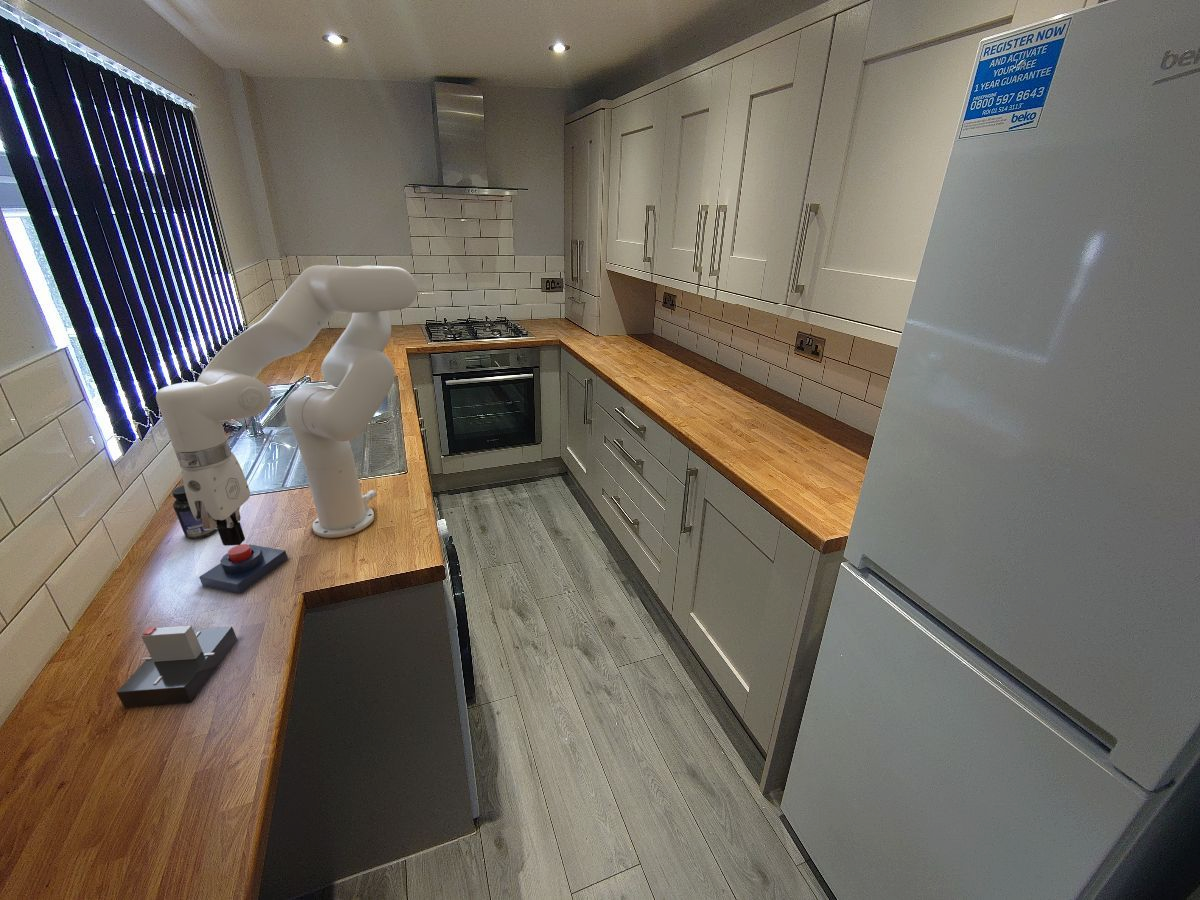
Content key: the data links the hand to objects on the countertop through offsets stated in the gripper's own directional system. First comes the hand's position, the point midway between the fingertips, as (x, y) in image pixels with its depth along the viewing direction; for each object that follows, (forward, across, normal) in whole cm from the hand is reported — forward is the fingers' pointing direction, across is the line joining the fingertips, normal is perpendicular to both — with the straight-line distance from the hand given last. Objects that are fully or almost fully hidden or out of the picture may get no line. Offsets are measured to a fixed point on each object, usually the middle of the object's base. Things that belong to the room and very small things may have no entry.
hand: (234, 542), depth 99 cm
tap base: (+7, -24, -4) cm, 26 cm away
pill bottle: (+7, +16, +17) cm, 25 cm away
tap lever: (+4, -25, -4) cm, 25 cm away
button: (+3, 0, 0) cm, 3 cm away
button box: (+7, 0, 0) cm, 7 cm away
